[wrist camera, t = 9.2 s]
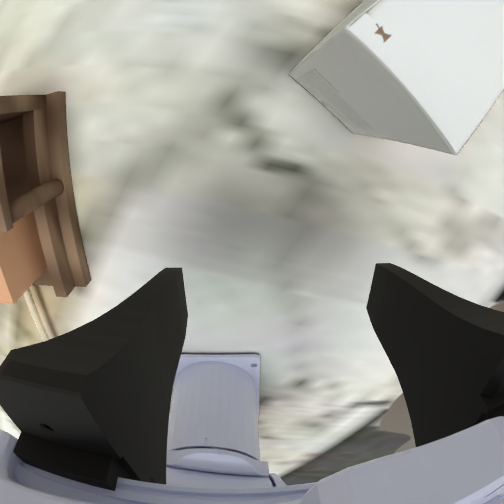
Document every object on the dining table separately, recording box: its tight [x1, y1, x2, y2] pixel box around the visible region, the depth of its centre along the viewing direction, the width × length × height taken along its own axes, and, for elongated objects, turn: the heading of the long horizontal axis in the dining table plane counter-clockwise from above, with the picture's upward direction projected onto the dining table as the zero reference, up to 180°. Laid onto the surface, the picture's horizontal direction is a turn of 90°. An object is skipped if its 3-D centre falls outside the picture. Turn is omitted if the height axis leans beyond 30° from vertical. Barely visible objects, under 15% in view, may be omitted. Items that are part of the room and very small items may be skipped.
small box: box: [289, 0, 504, 155], centre depth 11 cm, size 8×6×10 cm
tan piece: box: [0, 211, 50, 342], centre depth 18 cm, size 16×6×5 cm, turn 0°
